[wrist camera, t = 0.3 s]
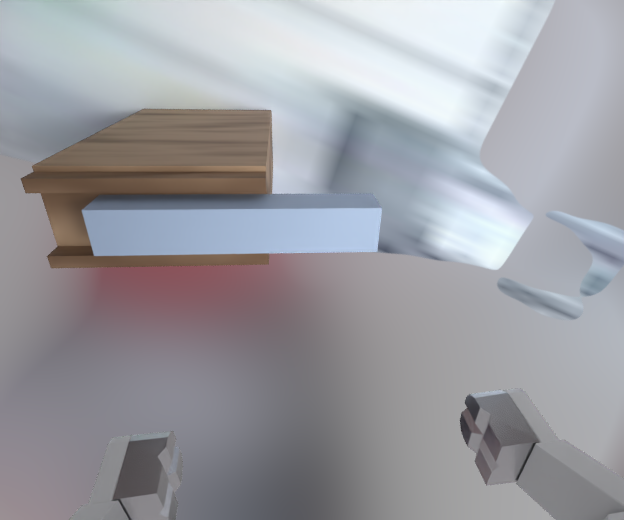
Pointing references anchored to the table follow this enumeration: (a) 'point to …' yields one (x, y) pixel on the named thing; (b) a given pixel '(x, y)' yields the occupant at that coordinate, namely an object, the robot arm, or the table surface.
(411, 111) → the table surface
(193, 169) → the stand
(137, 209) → the rod
